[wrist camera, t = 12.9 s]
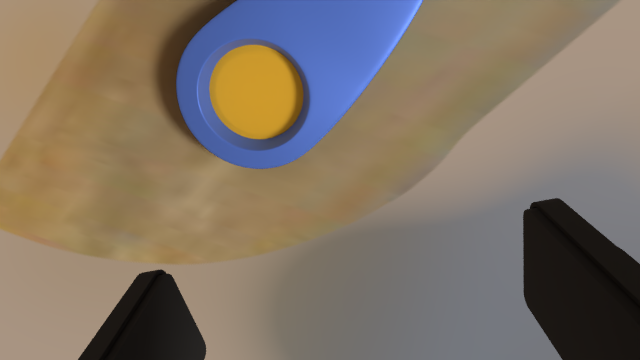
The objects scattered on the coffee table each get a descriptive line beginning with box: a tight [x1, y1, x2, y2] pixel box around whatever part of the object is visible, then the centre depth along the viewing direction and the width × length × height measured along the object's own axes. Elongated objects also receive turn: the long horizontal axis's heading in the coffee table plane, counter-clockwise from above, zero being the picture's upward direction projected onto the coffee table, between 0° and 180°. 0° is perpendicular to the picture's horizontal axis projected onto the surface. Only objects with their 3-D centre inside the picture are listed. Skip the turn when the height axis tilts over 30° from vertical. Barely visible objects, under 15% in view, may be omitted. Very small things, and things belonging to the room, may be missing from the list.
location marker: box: [176, 0, 423, 169], centre depth 31 cm, size 13×3×25 cm
